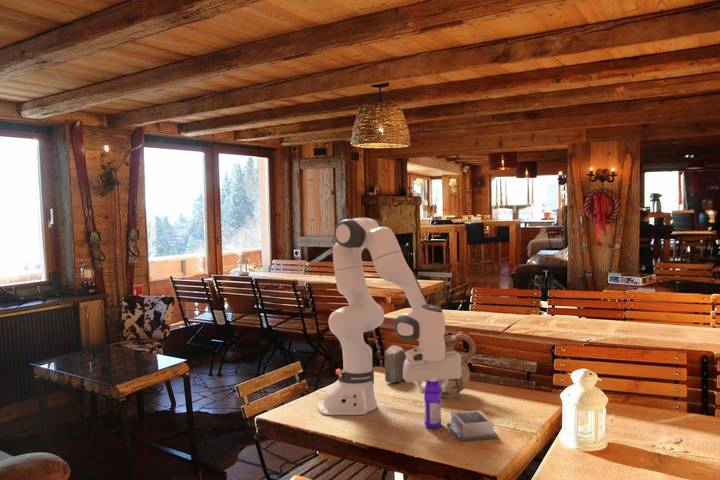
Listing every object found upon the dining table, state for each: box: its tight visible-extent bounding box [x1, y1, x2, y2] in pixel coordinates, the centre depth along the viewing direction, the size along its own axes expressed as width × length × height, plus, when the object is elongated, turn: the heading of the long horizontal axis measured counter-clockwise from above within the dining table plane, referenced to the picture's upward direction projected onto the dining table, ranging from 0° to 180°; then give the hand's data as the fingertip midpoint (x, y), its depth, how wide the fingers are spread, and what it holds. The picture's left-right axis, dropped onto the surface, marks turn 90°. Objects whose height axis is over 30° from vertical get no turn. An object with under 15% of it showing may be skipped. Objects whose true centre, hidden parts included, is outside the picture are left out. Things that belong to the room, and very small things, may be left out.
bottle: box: [423, 378, 442, 430], centre depth 190 cm, size 7×6×17 cm
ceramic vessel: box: [438, 333, 477, 399], centre depth 221 cm, size 18×19×25 cm
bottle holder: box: [446, 409, 499, 443], centre depth 184 cm, size 13×13×5 cm
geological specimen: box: [383, 344, 407, 384], centre depth 241 cm, size 11×6×15 cm, turn 147°
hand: (432, 392), depth 190 cm, fingers closed on bottle, 6 cm apart
